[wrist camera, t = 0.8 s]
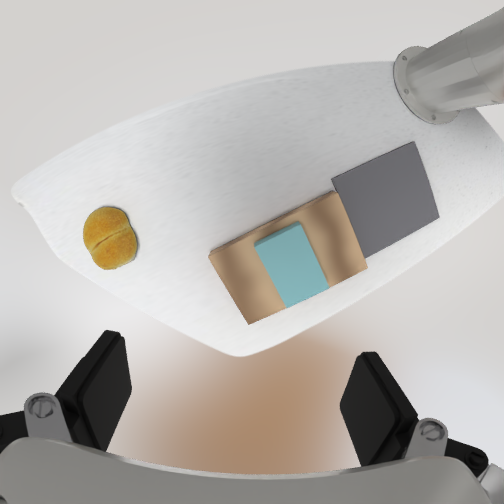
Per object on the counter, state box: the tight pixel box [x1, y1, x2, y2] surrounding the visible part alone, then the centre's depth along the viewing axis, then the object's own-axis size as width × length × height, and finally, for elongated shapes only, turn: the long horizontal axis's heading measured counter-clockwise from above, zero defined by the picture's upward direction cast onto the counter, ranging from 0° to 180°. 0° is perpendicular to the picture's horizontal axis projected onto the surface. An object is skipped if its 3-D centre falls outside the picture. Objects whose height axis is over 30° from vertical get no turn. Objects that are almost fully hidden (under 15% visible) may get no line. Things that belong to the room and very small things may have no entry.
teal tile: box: [254, 221, 329, 308], centre depth 35 cm, size 6×9×2 cm, turn 27°
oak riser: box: [208, 191, 368, 325], centre depth 37 cm, size 18×11×2 cm, turn 117°
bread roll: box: [83, 207, 137, 270], centre depth 36 cm, size 8×9×4 cm
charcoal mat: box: [331, 142, 439, 258], centre depth 36 cm, size 14×12×1 cm
